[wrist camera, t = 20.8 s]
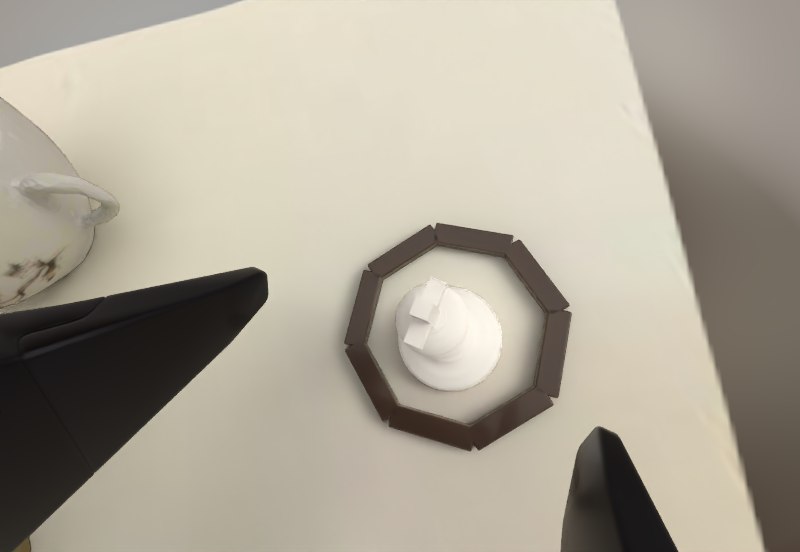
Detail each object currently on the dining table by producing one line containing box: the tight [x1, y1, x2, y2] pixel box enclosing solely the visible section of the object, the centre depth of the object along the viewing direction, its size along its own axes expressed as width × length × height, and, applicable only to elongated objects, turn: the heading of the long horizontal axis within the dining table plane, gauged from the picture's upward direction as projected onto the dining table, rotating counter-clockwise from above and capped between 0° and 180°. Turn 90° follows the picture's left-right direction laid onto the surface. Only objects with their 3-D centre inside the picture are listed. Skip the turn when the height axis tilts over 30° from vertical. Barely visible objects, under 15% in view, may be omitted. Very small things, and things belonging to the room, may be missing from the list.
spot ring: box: [344, 223, 572, 451], centre depth 18 cm, size 10×10×1 cm
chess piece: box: [396, 277, 502, 392], centre depth 13 cm, size 5×5×10 cm
